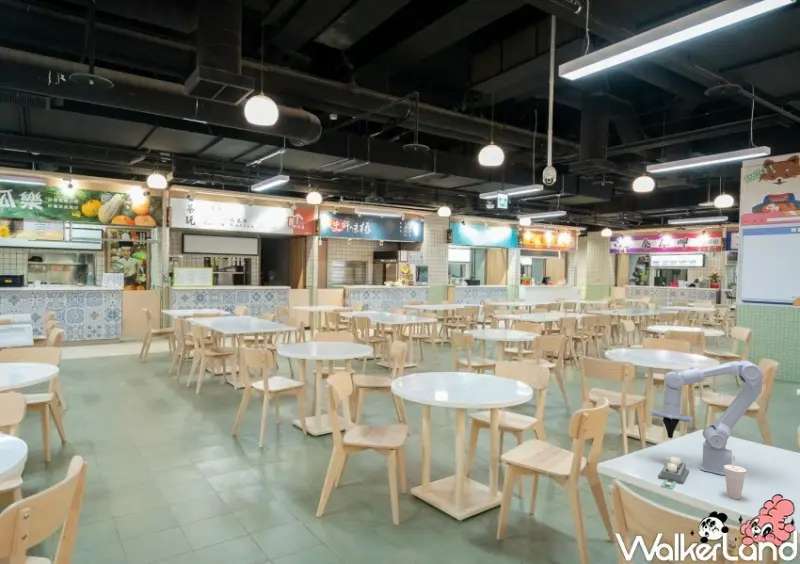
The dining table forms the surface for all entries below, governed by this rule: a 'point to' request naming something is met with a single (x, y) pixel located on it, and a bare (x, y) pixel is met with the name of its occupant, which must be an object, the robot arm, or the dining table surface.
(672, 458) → the button mid
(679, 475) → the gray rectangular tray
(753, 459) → the dining table surface
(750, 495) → the dining table surface
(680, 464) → the button
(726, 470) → the smoothie
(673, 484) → the card
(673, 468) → the button
